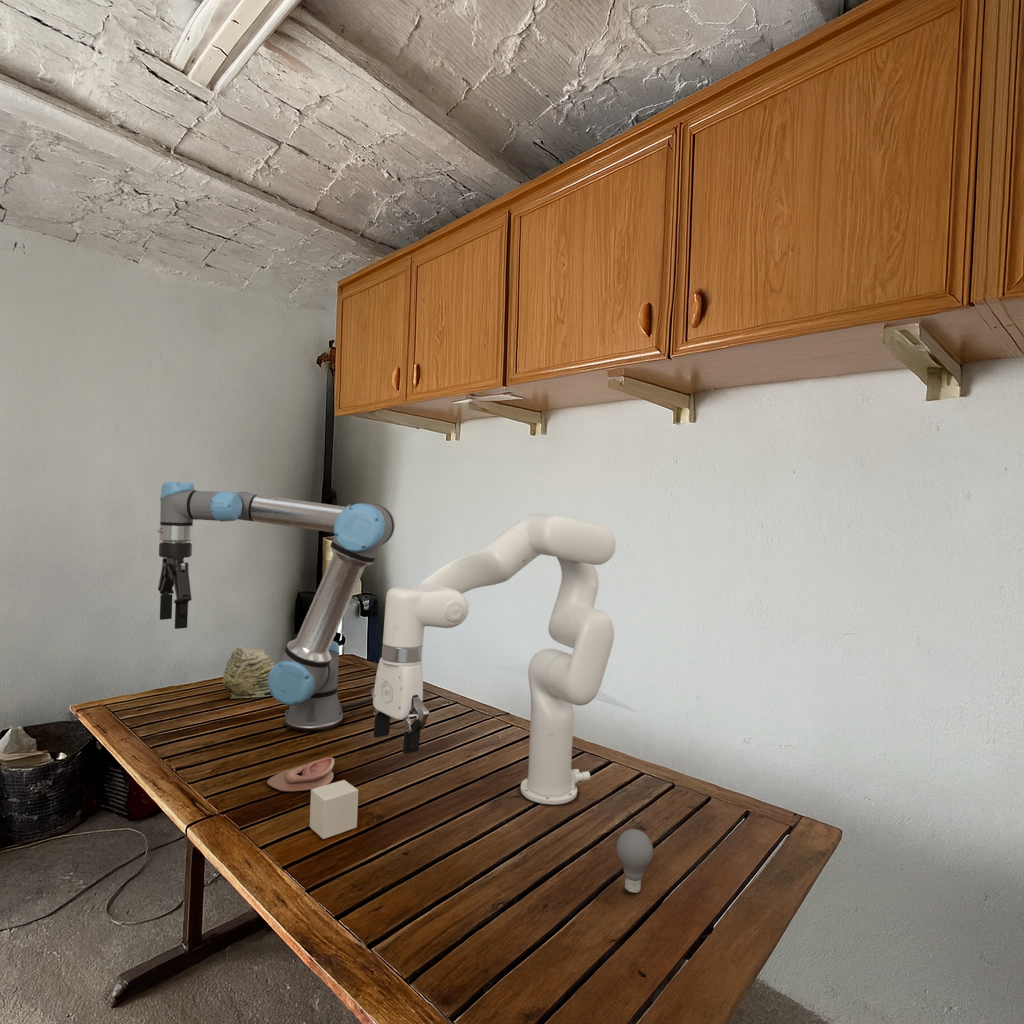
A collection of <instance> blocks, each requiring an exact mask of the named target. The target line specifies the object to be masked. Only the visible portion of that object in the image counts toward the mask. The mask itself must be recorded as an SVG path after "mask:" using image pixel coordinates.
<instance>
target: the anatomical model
mask: <svg viewBox="0 0 1024 1024" xmlns="http://www.w3.org/2000/svg"><path fill="white" fill-rule="evenodd" d="M334 766H335V758H333V757H324V758H321V759H317V760H313V761H311V762H308V763H306V764H303V765H300V766H297V767H294V768H290V769H286V770H283V771H281V772H278V773H276V774H274V775H273V776H271V777H269V778H268V779H267V781H266V784H267V785H268V786H270V787H272V788H273V789H275V790H278V791H281V792H300V791H301V792H302V791H309V790H310V791H311V789H315V788H318V787H321V786H325V785H328V784H331V782H332V781H333V779H334V777H335V776H334V772H333V771H332V770H333V769H334Z"/></svg>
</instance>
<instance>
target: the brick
mask: <svg viewBox="0 0 1024 1024" xmlns="http://www.w3.org/2000/svg"><path fill="white" fill-rule="evenodd" d="M309 804H310V805H309V806H310V807H309V828H310V829H311V830H312V831H314V833H316V834H317V835H318V836H319V837H320V838H321V839H322V840H326V839H328V838H330V837H334V836H336V835H339V834H342V833H344V832H347V831H350V830H351V831H352V830H354V829H356V828H358V812H359V811H358V809H359V807H358V806H359V789H358V788H357V787H355V786H354V785H352V784H351V783H349V782H348V781H346V780H345V779H342V780H340V781H335V782H332V783H329V784H327V785H325V786H321V787H318V788H315V789H310V803H309Z"/></svg>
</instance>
